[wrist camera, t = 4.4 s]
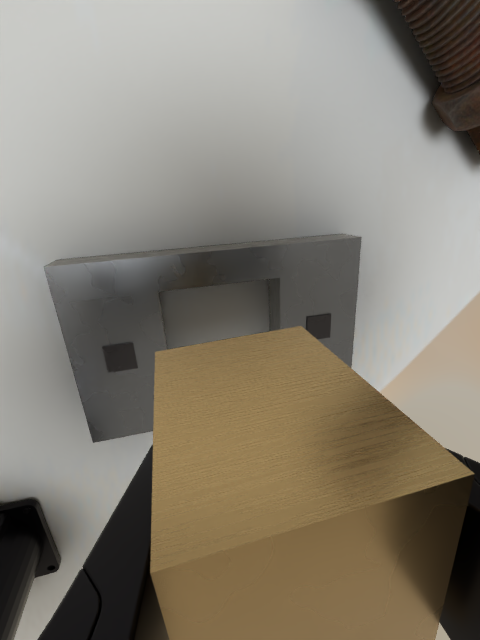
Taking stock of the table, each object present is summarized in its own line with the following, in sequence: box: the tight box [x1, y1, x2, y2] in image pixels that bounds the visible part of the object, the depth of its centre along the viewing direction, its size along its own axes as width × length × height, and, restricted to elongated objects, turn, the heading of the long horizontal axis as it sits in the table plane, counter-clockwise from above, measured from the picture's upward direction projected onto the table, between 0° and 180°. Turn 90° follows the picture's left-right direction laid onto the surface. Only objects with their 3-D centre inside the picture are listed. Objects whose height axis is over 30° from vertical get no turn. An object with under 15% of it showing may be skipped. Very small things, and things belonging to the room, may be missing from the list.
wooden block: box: [150, 326, 475, 640], centre depth 8 cm, size 4×4×6 cm
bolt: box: [394, 0, 480, 154], centre depth 15 cm, size 6×5×15 cm
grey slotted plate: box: [44, 234, 361, 443], centre depth 19 cm, size 10×16×2 cm, turn 94°
